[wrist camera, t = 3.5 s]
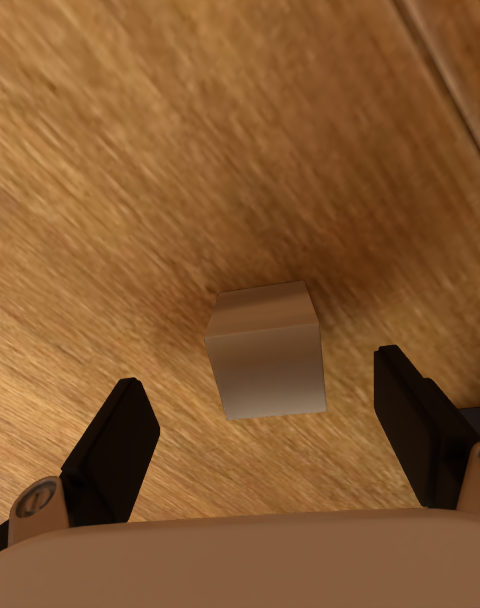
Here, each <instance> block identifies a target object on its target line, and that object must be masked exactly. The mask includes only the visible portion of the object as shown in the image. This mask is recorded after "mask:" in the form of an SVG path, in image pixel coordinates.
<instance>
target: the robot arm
mask: <svg viewBox="0 0 480 608" xmlns="http://www.w3.org/2000/svg"><path fill="white" fill-rule="evenodd" d="M374 409H375V412H376V415H377V417H378V419H379V421H380V423H381V425H382V427H383V429H384V431H385V433H386V435H387V438H388V440H389V442H390V444H391V446H392V448H393V450H394V452H395V454H396V456H397V458H398V460H399V462H400V464H401V466H402V468H403V470H404V472H405V474H406V476H407V478H408V480H409V482H410V484H411V486H412V489H413V491H414V493H415V495H416V497H417V499H418V501H419V503H420V504H421V506H423V507H428V508H398V509H367V510H343V511H323V512H303V513H284V514H265V515H247V516H229V517H211V518H194V519H178V520H162V521H146V522H130V523H127V521H128V520H129V518H130V515H131V512H132V509H133V507H134V504H135V501H136V499H137V496H138V493H139V490H140V488H141V485H142V482H143V480H144V477H145V474H146V472H147V469H148V466H149V463H150V461H151V458H152V455H153V453H154V450H155V447H156V444H157V442H158V439H159V436H160V426H159V423H158V421H157V419H156V416H155V414H154V411H153V409H152V407H151V404H150V402H149V399H148V397H147V395H146V392H145V390H144V388H143V385H142V383H141V381H140V380H137V379H136V378H134V377H132V378H124V379H120V380H119V381H118V383H117V384H116V386H115V387H114V389H113V390H112V392H111V393H110V395H109V396H108V398H107V399H106V401H105V402H104V404H103V405H102V407H101V408H100V410H99V411H98V413H97V414H96V416H95V417H94V419H93V420H92V422H91V423H90V425H89V426H88V428H87V430H86V431H85V433H84V434H83V436H82V437H81V439H80V440H79V442H78V443H77V445H76V446H75V448H74V449H73V451H72V452H71V454H70V455H69V457H68V458H67V460H66V461H65V463H64V464H63V466H62V467H61V470H62V473H61V474H60V476H59V477H57V476H48V477H44V478H42V479H40V480H38V481H36V482H34V483H33V484H32V485H30V486H29V487H28V488H26V489H25V490H24V491H23V492H22V493H21V494H20V495H19V497H18V498H17V499H16V500H15V502H14V504H13V506H12V507H11V510H10V514H9V519H8V520H7V521H5V522H4V523H3V524H1V525H0V608H480V435H479V434H478V433H477V432H476V431H475V429H474V428H473V427H472V426H471V425H470V423H469V422H468V421H467V420H466V419H465V417H464V416H463V415H462V414H461V413H460V412H459V410H458V409H457V408H456V407H455V406H454V404H453V403H452V402H451V401H450V400H449V399H448V397H447V396H446V395H445V394H444V393H443V391H442V390H441V389H440V388H439V387H438V385H437V384H436V383H435V382H434V381H433V380H432V379H430V378H423V377H422V375H421V374H420V373H419V372H418V370H417V369H416V368H415V367H414V365H413V364H412V363H411V362H410V360H409V359H408V358H407V357H406V356H405V354H404V353H403V352H402V351H401V349H400V348H399V347H398V346H397V345H387V346H380V347H379V349H378V351H374Z"/></svg>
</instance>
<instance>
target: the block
mask: <svg viewBox="0 0 480 608" xmlns="http://www.w3.org/2000/svg"><path fill="white" fill-rule="evenodd" d="M204 342H205V345H206V349H207V352H208V356H209V359H210V363H211V366H212V370H213V373H214V376H215V380H216V383H217V387H218V390H219V394H220V397H221V401H222V404H223V408H224V411H225V415H226V418H227V420H233V419H245V418H256V417H268V416H280V415H292V414H304V413H316V412H326V411H327V406H326V394H325V383H324V372H323V360H322V349H321V338H320V326H319V321H318V318H317V316H316V313H315V310H314V307H313V305H312V302H311V299H310V296H309V293H308V291H307V288H306V285H305V282H304V280H301V281H295V282H288V283H282V284H275V285H268V286H262V287H255V288H249V289H242V290H235V291H229V292H222V293H219V295H218V298H217V300H216V303H215V306H214V309H213V312H212V315H211V318H210V321H209V323H208V326H207V329H206V332H205V335H204Z"/></svg>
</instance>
